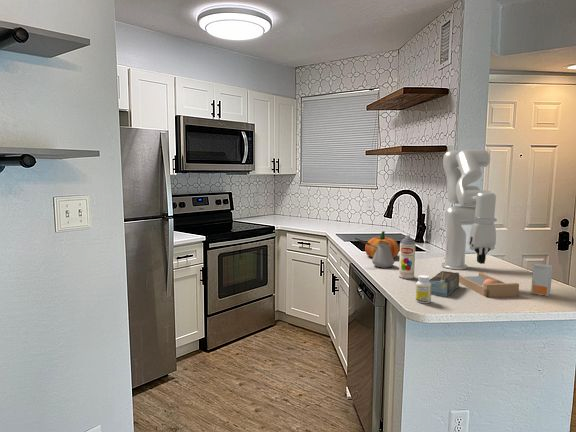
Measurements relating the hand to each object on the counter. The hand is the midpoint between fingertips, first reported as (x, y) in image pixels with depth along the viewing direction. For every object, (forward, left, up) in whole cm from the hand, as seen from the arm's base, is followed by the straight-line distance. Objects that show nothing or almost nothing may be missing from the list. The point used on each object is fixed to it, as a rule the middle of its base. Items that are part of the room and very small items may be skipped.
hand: (480, 262), depth 179 cm
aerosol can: (-15, -27, -10) cm, 33 cm away
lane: (+3, 0, -10) cm, 10 cm away
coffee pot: (-39, -36, -10) cm, 54 cm away
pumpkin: (-61, -24, -10) cm, 66 cm away
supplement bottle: (+20, -34, -10) cm, 41 cm away
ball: (+9, -1, -7) cm, 11 cm away
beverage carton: (+6, -19, -10) cm, 22 cm away
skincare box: (+14, +18, -10) cm, 25 cm away
